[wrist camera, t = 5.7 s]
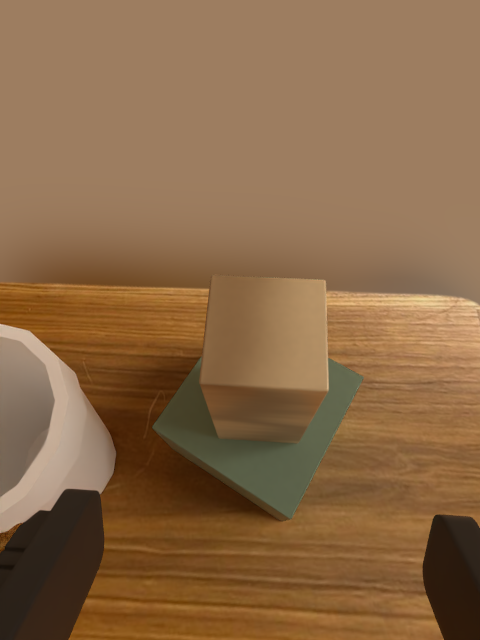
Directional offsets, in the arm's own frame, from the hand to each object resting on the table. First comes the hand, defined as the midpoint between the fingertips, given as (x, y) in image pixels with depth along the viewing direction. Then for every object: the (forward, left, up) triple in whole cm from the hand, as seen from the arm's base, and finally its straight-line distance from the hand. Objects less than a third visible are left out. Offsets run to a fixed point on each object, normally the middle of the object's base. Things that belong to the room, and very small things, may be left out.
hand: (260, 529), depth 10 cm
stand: (+3, -6, -20) cm, 21 cm away
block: (+3, -6, -13) cm, 14 cm away
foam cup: (+13, +3, -20) cm, 24 cm away
